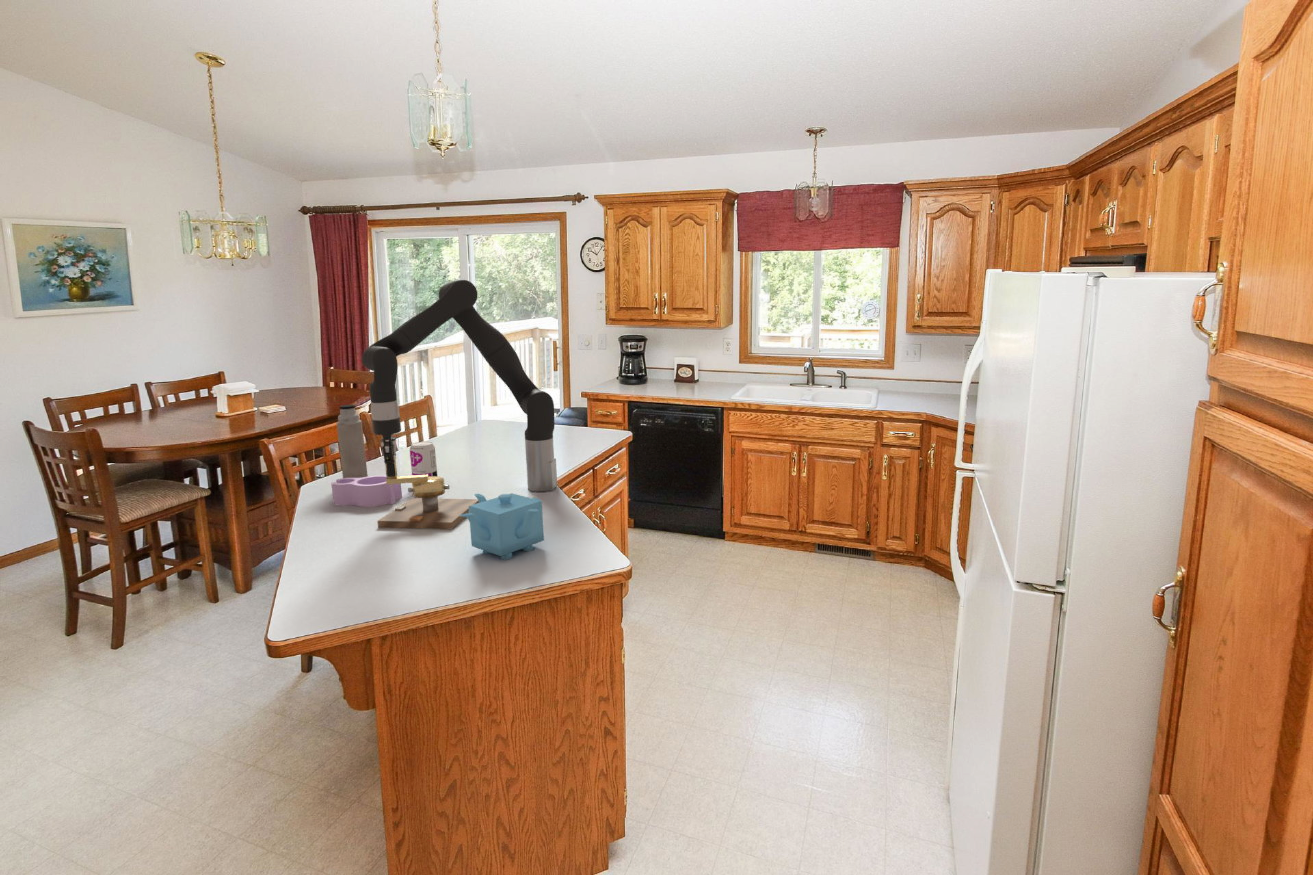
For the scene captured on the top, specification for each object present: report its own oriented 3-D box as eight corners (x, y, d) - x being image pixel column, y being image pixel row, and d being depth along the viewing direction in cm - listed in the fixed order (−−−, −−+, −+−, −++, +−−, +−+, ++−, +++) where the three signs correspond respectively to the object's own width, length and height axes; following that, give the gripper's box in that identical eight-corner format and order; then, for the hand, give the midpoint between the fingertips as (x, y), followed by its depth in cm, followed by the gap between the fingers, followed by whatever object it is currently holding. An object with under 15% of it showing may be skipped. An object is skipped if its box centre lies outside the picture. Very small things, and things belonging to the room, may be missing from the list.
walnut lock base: (480, 505, 222) (478, 484, 221) (451, 529, 201) (449, 506, 199) (413, 504, 225) (411, 483, 223) (378, 527, 203) (375, 505, 202)
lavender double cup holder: (327, 508, 223) (325, 486, 222) (344, 496, 235) (341, 476, 234) (392, 506, 224) (389, 485, 222) (405, 495, 236) (403, 474, 234)
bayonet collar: (450, 487, 217) (447, 447, 214) (448, 496, 208) (445, 454, 206) (390, 492, 213) (386, 451, 211) (386, 501, 205) (381, 458, 202)
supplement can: (422, 491, 239) (418, 447, 236) (408, 487, 244) (404, 444, 241) (443, 485, 246) (439, 443, 242) (428, 481, 250) (424, 440, 247)
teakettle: (545, 536, 194) (542, 483, 191) (542, 561, 176) (539, 504, 173) (474, 540, 192) (470, 487, 189) (464, 566, 174) (459, 508, 171)
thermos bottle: (351, 481, 253) (342, 403, 247) (372, 481, 253) (364, 403, 247) (339, 487, 246) (329, 407, 240) (361, 487, 245) (352, 407, 239)
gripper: (398, 420, 199) (404, 479, 202) (400, 411, 212) (406, 467, 216) (369, 422, 196) (376, 482, 200) (374, 413, 210) (380, 469, 214)
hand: (392, 474), depth 208 cm, fingers closed on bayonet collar, 3 cm apart
